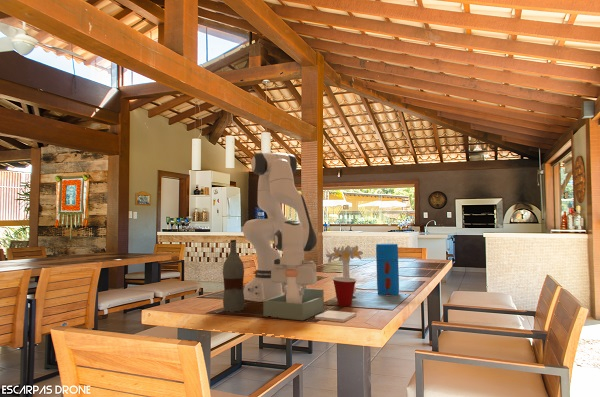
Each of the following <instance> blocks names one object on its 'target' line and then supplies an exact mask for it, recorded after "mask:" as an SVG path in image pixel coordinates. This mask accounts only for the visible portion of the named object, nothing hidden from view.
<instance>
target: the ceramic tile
mask: <svg viewBox="0 0 600 397" xmlns="http://www.w3.org/2000/svg"><path fill="white" fill-rule="evenodd" d="M356 316H357V312H349V311H340V310H329V309H328V310H327V311H324V312H321V313H319V314H317V315H314V320H321V321H322V320H323V321H331V322H340V323H345V322H346V321H348V320H351V319H352V318H354V317H356Z"/></svg>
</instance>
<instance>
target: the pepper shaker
mask: <svg viewBox="0 0 600 397" xmlns="http://www.w3.org/2000/svg"><path fill="white" fill-rule="evenodd" d="M285 275H286V276H288V277H287V285H286V287H287V292H286V302H288V303H299V304H302V295H299V291H301V288H302V287H301V284H296V277H297V275H298V271H297V270H294V269H292V270H291V269H288V270H286V272H285Z"/></svg>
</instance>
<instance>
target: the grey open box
mask: <svg viewBox="0 0 600 397" xmlns="http://www.w3.org/2000/svg"><path fill="white" fill-rule="evenodd" d="M301 289H302V287H301ZM324 294H325V293H324V289H323V288H322V289H321V288H310V287H309V288H305V290H304V295H302V304H299V303H288V302H286V294H284V293H283V295H281V296H278V297H274V298H271V299H268V300H264V301H263V304H262V308H263V310H262V311H263V317H268V316H271V317H270V318H277V317H278V318H277V319H279V318H280V319H288V320H295V321H305V320H307V319H310V318H312V317H315V316H317V315H319V314H321V313H324V312H325V298H324Z"/></svg>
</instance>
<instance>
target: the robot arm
mask: <svg viewBox="0 0 600 397" xmlns="http://www.w3.org/2000/svg"><path fill="white" fill-rule="evenodd" d="M250 166H251V167H250V168H251V171H252V172H253V174H255V175H258V182H257V206H258V208H259V209H260V210H262V211H263V212H265V213H266V215H267V218H255V219H250V220H247V221H246V222H245V223H244V224H243V229H242V233H243V235H244V238H245V239H246V240H247V241H248V242H250V243H251V245H252V246H253V248H254V250H255V253H256V260H257V269H256V270H254V271H253V273H252V274H253V275H254V277H253V278H252V279H251V280H250V281H249V282H247V283H246V284H245V285H244V286H243V293H244V300H245V301H252V302H257V303H261V302H263V301H264V300H268V299H271V298H274V297H278V296H281V295H284V294H286V292H287V277H288V276H286V275H285V272H286V270H288V269H291V270H292V269H294V270H297V271H298V275H297V277H296V284H301V288H302V289H301V291H299V295H304V290H305V288H306V287H307V285H309V286H310V285H311V286H312V285H316V284H317V282H318V274H317V264H316V263H315V262H314V261H313V260H305V252H311V251H312V250H313V249H314V248H315V247H316V246H317V234H316V232H315V229H314V227H313V225H312V221H311V217H310V214H309V209H308V207H307V204H306V203H307V202H306V200H305V198H304V196H303V194H301V193H300V192H299V191H298V189H297V188H296V185H295V179H294V174H295V173H296V171H297V169H298V160H297V158H296V156H295V155H294V154H291V153H284V152H276V151H275V152H257V153H254V154H253V155H252V157H251V161H250ZM281 204H283V205H285V206H288V207H290V208H291V209H293V210H295V212H296V214H297V217H298V219H299V220H289V218H287V217H286V216H285V214H284V212H283V210H282V206H281ZM270 242H273V247H272V246H271V243H270ZM274 247H275V248H274ZM279 251H281V252H282V256H281V255H280V254H281V253H280V252H279Z"/></svg>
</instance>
